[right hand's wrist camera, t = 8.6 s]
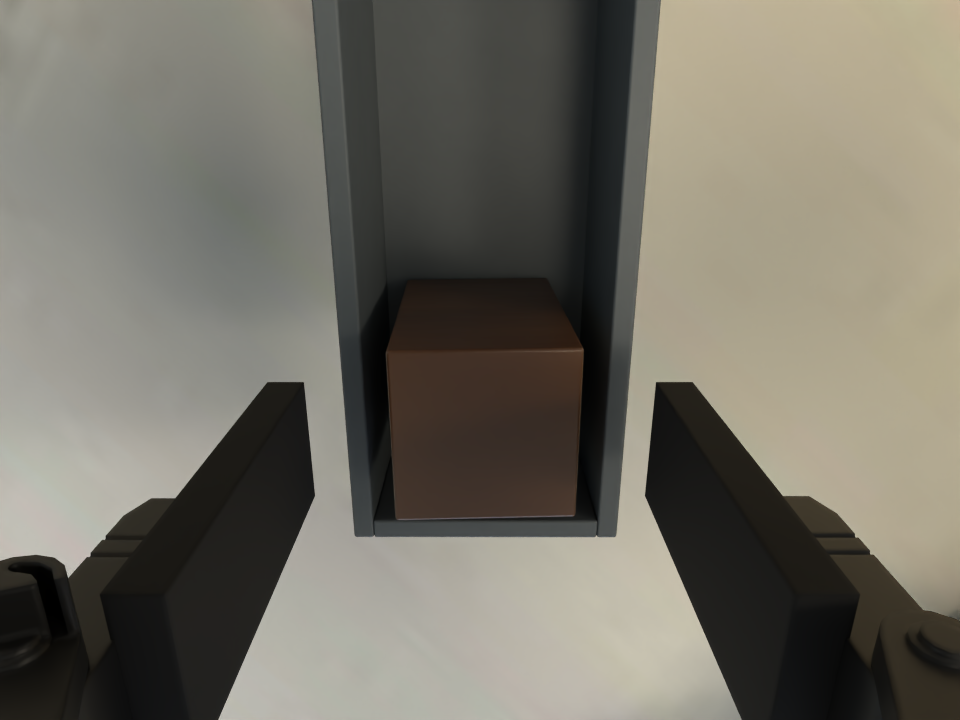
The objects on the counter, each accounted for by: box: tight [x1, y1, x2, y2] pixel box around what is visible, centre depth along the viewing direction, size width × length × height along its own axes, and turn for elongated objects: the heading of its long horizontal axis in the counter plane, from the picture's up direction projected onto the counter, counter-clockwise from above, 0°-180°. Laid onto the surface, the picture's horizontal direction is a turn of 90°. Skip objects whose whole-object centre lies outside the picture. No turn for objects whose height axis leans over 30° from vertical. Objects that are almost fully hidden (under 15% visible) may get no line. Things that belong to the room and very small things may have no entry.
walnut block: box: [386, 278, 584, 520], centre depth 17 cm, size 4×4×6 cm
